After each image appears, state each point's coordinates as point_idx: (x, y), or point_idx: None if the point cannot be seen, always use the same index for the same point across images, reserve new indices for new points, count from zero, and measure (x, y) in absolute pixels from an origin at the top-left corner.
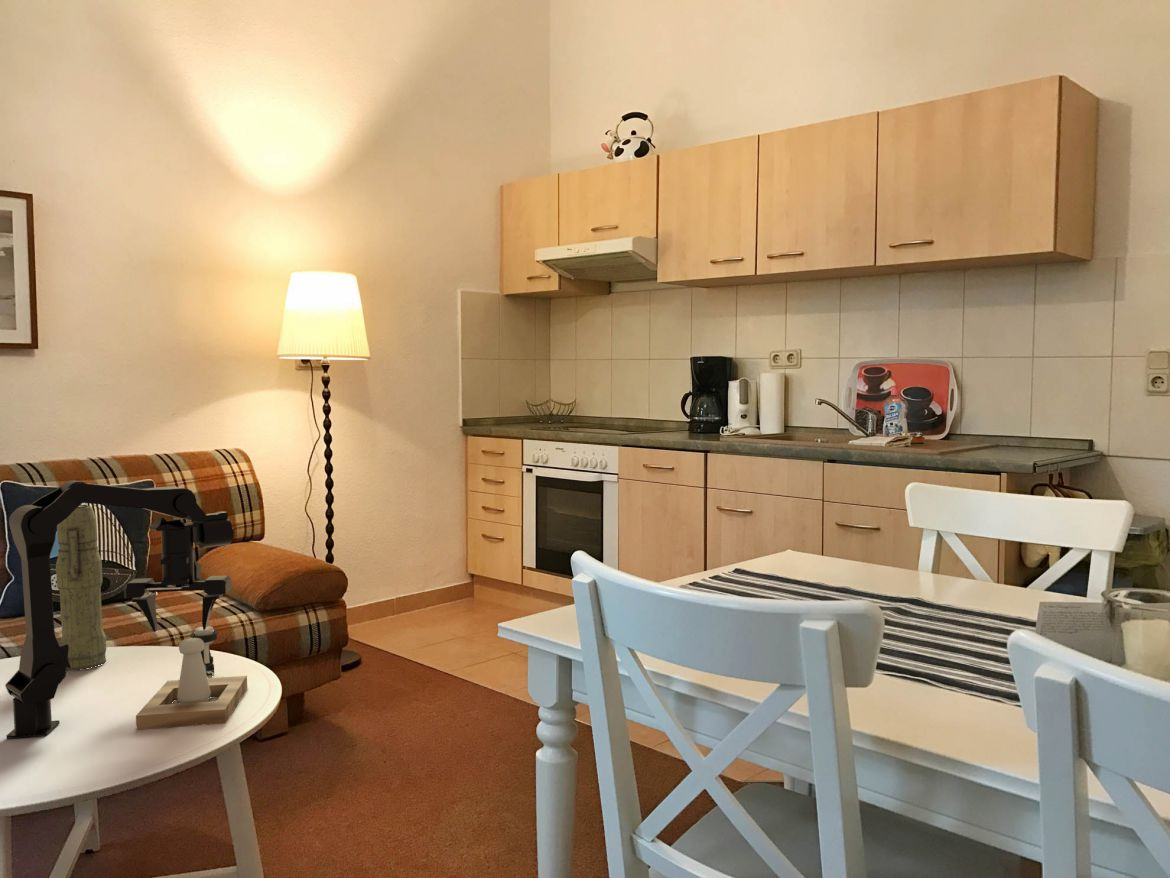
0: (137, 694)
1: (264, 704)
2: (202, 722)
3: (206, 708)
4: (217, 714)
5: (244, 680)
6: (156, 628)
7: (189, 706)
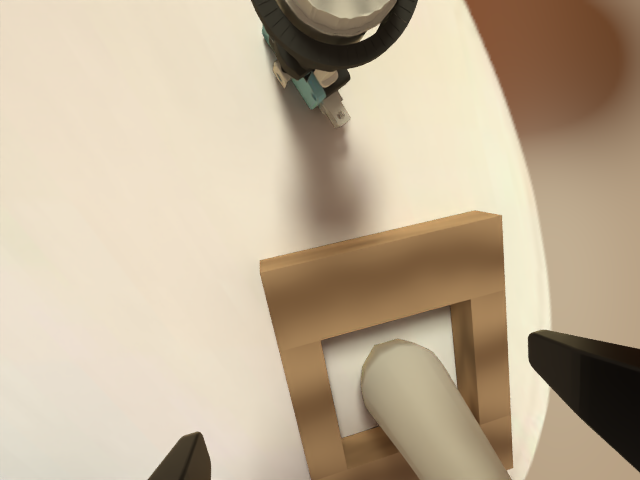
0: (159, 272)
1: None
2: None
3: None
4: None
5: (500, 252)
6: (201, 460)
7: None
